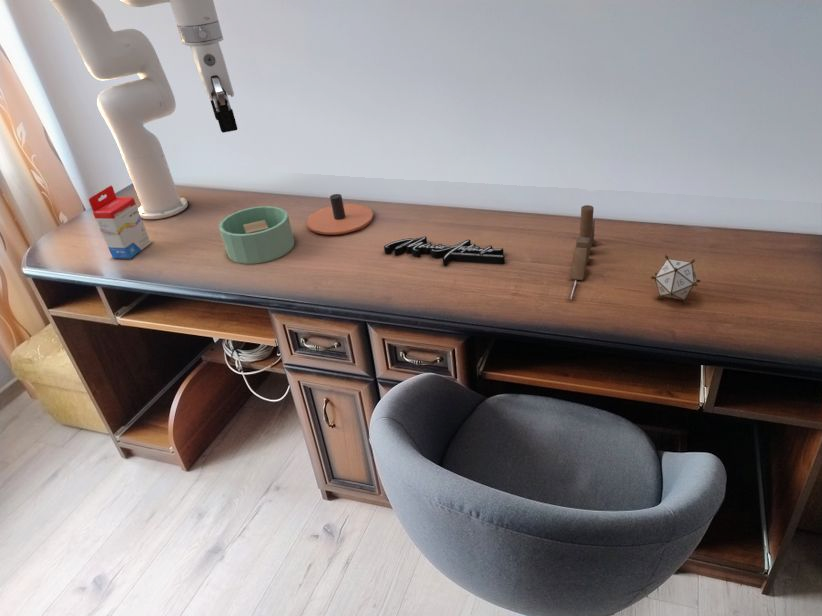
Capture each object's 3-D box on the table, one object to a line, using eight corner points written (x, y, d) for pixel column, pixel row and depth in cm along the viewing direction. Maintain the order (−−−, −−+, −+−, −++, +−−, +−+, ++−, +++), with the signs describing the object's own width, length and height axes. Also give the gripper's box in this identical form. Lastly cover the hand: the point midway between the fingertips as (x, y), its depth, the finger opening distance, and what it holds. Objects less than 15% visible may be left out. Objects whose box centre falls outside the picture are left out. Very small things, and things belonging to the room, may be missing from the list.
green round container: (223, 242, 151) (215, 215, 146) (288, 227, 155) (281, 200, 151) (231, 270, 139) (222, 241, 135) (301, 253, 144) (294, 225, 139)
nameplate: (377, 255, 137) (392, 234, 145) (378, 261, 138) (393, 240, 146) (502, 263, 131) (510, 240, 139) (502, 269, 132) (510, 247, 140)
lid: (301, 217, 160) (295, 192, 156) (362, 203, 164) (358, 178, 160) (315, 242, 147) (309, 216, 143) (381, 226, 152) (377, 200, 148)
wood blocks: (582, 240, 140) (584, 196, 134) (594, 241, 139) (596, 197, 133) (564, 300, 121) (566, 251, 115) (577, 301, 120) (580, 252, 114)
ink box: (130, 259, 146) (105, 200, 138) (112, 258, 147) (85, 199, 139) (152, 242, 153) (129, 184, 144) (134, 241, 154) (110, 184, 145)
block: (248, 244, 148) (242, 224, 145) (270, 239, 149) (264, 219, 146) (251, 253, 144) (246, 233, 141) (273, 247, 146) (268, 228, 143)
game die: (659, 311, 122) (640, 263, 122) (702, 294, 121) (683, 245, 120) (667, 315, 114) (646, 263, 113) (714, 296, 112) (693, 243, 112)
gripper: (226, 37, 115) (251, 132, 125) (216, 24, 128) (239, 111, 138) (183, 43, 113) (212, 139, 123) (177, 29, 125) (203, 117, 136)
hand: (226, 124), depth 130 cm, fingers open, 9 cm apart
